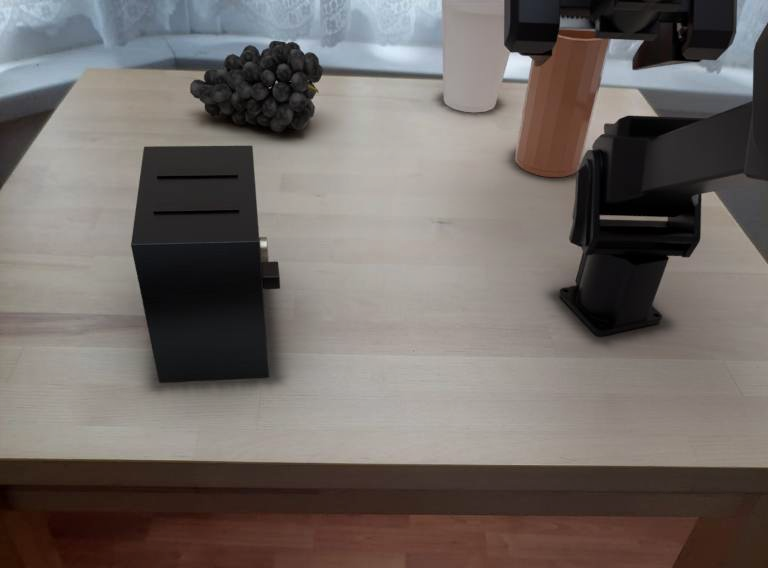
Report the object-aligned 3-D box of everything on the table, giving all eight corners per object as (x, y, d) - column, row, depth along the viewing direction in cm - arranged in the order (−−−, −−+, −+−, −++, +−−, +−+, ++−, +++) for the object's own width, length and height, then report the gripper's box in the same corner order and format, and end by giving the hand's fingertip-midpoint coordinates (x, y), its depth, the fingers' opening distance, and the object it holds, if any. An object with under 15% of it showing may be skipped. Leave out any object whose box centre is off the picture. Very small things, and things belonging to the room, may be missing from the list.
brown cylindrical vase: (591, 172, 84) (626, 37, 74) (534, 181, 82) (562, 42, 72) (558, 144, 88) (586, 13, 78) (503, 152, 86) (525, 18, 76)
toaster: (275, 274, 68) (268, 143, 59) (285, 376, 59) (278, 238, 50) (166, 277, 66) (143, 143, 58) (158, 382, 57) (130, 242, 49)
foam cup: (426, 85, 97) (436, -39, 88) (498, 86, 99) (517, -36, 89) (438, 117, 91) (451, -12, 82) (515, 118, 92) (537, -10, 83)
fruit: (172, 28, 80) (314, 43, 78) (204, 32, 87) (334, 46, 86) (175, 122, 85) (310, 138, 83) (205, 119, 92) (330, 134, 90)
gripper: (783, -156, 57) (685, -24, 73) (531, -172, 56) (486, -33, 71) (779, 3, 58) (682, 100, 73) (529, -8, 56) (485, 93, 72)
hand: (585, 62), depth 72 cm, fingers open, 9 cm apart
